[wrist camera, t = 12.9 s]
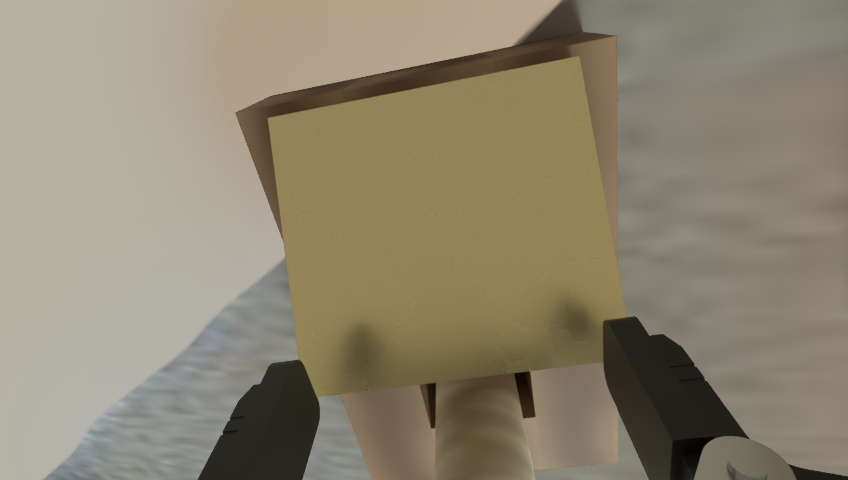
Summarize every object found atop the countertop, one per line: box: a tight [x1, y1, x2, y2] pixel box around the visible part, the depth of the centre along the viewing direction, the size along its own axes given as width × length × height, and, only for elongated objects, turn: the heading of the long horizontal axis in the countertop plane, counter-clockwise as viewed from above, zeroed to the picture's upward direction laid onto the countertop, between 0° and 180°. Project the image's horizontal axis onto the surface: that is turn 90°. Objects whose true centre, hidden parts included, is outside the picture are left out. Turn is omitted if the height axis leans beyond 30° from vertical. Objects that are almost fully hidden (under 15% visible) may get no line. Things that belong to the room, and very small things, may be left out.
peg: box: [435, 373, 536, 480], centre depth 21 cm, size 4×4×12 cm
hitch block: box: [236, 32, 618, 480], centre depth 23 cm, size 14×22×4 cm, turn 11°
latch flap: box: [268, 56, 626, 397], centre depth 16 cm, size 11×10×1 cm
